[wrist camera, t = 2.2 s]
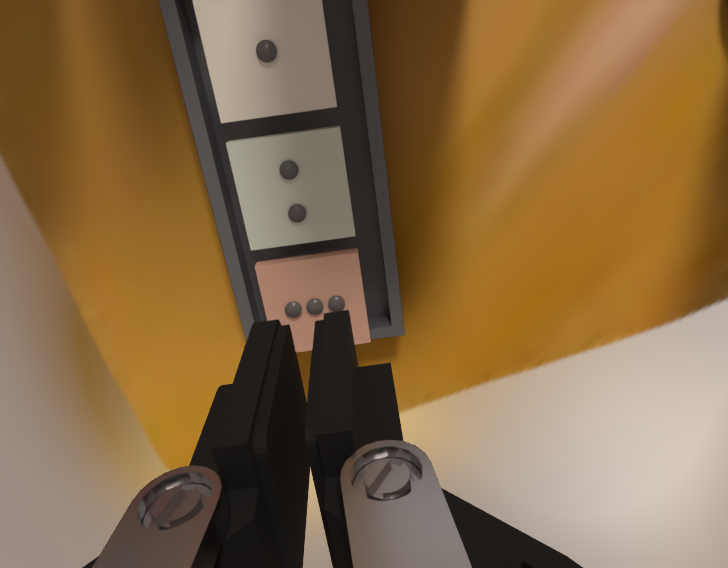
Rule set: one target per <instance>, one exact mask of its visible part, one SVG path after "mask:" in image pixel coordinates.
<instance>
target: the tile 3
mask: <svg viewBox="0 0 728 568" xmlns="http://www.w3.org/2000/svg"><path fill="white" fill-rule="evenodd" d="M255 270H256V275H257V279H258V283H259V287H260V292H261V296H262V300H263V305H264V309H265V313H266V317H267V321H270V320H277V319H279V321H280V323H281V325H288V324H289V325H290V328H291V332H292V337H293V341H294V346H295V350H296V352H304V351H311V350H312V347H313V337H314V327H315V321H318V320H323V319H324V313H329V312H336V311H343V310H349V313H350V319H351V325H352V332H353V338H354V344H355V345H356V344H363V343H371V339H370V331H369V324H368V317H367V310H366V303H365V296H364V290H363V283H362V276H361V269H360V262H359V255H358V248H353V249H352V247H351V245H347V246H340V247H333V248H325V249H318V250H311V251H303V252H296V253H289V254H282V255H274V256H269V257H268V260H266V261H258V262H256V265H255Z"/></svg>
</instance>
